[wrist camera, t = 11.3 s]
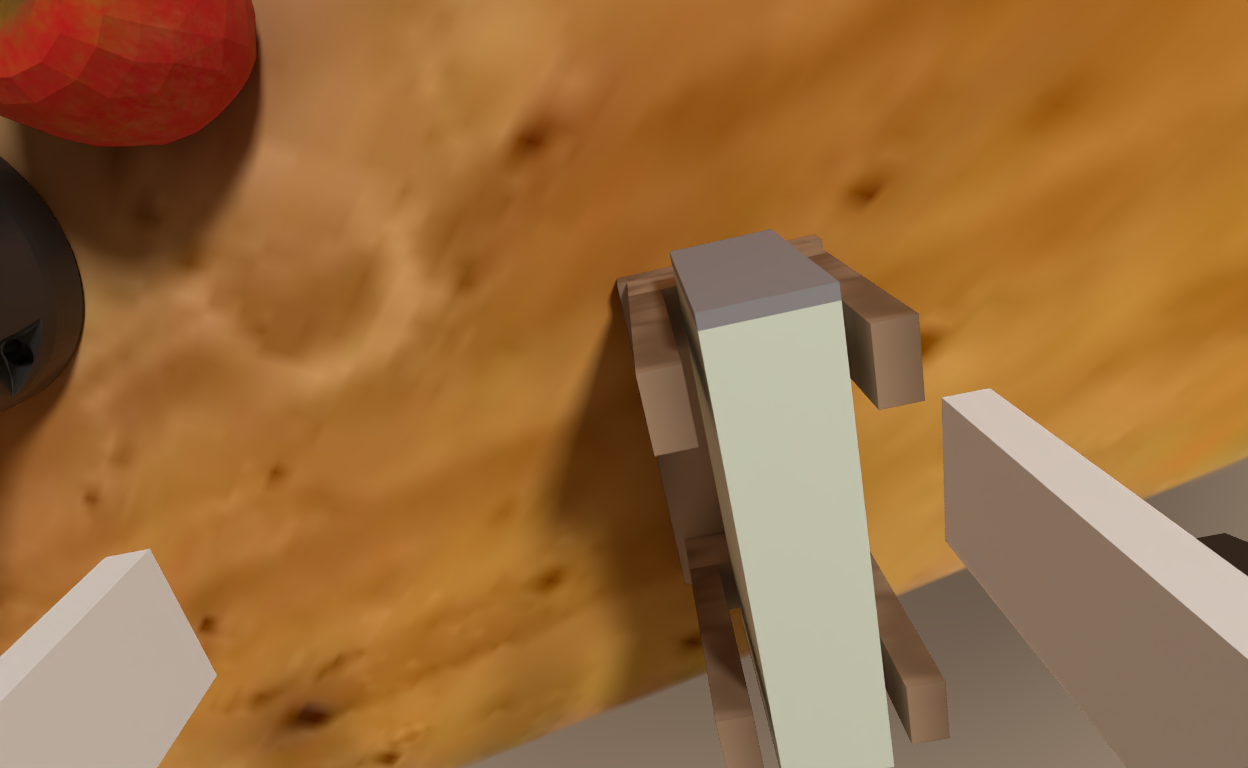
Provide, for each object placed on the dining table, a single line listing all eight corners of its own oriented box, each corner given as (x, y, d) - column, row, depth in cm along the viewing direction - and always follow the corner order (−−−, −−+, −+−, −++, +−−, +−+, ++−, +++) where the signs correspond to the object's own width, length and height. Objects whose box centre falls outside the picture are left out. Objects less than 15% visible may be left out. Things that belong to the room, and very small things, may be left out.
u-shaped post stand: (683, 571, 42) (716, 779, 29) (616, 278, 36) (620, 377, 23) (851, 538, 42) (962, 735, 29) (814, 234, 35) (934, 310, 22)
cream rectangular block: (744, 631, 39) (786, 795, 30) (669, 251, 31) (694, 313, 22) (826, 615, 39) (895, 777, 29) (770, 229, 31) (839, 281, 22)
